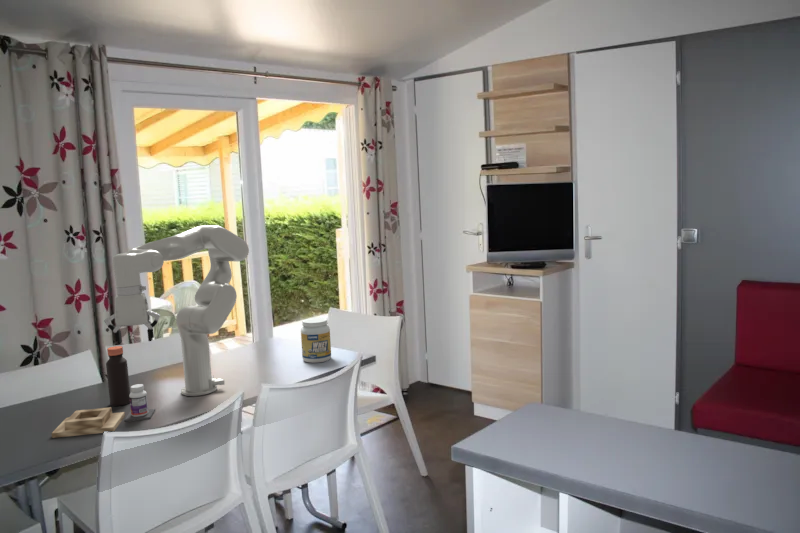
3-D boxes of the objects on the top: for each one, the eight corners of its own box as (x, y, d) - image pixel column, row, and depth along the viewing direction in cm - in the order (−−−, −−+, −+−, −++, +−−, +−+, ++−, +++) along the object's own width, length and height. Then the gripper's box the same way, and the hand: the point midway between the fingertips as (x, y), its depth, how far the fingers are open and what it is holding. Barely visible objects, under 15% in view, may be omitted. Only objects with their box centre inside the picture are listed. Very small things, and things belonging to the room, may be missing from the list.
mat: (155, 410, 224) (155, 408, 223) (150, 418, 216) (150, 417, 216) (130, 413, 222) (130, 411, 222) (124, 421, 214) (124, 419, 214)
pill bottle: (134, 412, 221) (131, 383, 220) (150, 410, 222) (147, 382, 220) (129, 417, 216) (126, 389, 214) (146, 416, 216) (143, 387, 215)
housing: (125, 416, 219) (123, 404, 219) (113, 431, 206) (112, 419, 205) (67, 421, 216) (65, 410, 216) (52, 437, 203) (50, 425, 202)
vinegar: (118, 407, 229) (112, 351, 226) (106, 404, 232) (100, 349, 230) (135, 401, 234) (129, 346, 232) (123, 399, 238) (117, 344, 235)
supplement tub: (309, 365, 271) (306, 324, 269) (298, 359, 281) (295, 320, 279) (336, 360, 277) (333, 320, 275) (324, 354, 287) (322, 315, 285)
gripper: (158, 286, 221) (164, 336, 224) (104, 291, 218) (110, 341, 221) (154, 290, 214) (160, 342, 217) (98, 295, 211) (104, 347, 214)
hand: (135, 341), depth 219 cm, fingers open, 9 cm apart
